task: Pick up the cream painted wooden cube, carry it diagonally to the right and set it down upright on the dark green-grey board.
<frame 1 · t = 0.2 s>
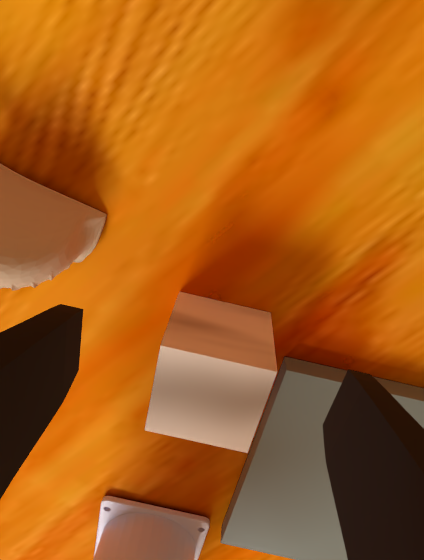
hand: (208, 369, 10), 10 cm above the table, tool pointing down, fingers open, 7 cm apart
decorative ornament: (25, 208, 19), on the table
target board: (367, 479, 25), on the table
cream cube: (215, 339, 22), on the table
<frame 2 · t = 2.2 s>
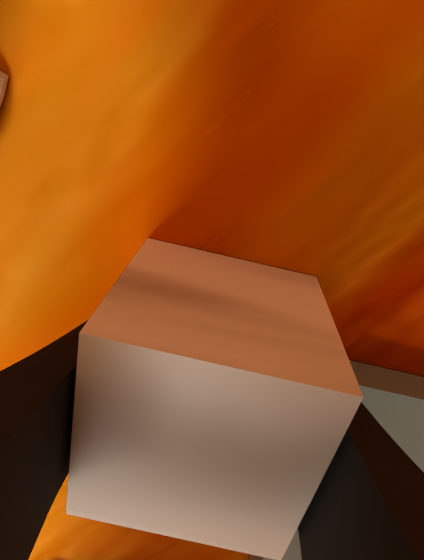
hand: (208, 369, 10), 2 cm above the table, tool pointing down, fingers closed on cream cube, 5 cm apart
cream cube: (214, 328, 12), on the table, touching gripper
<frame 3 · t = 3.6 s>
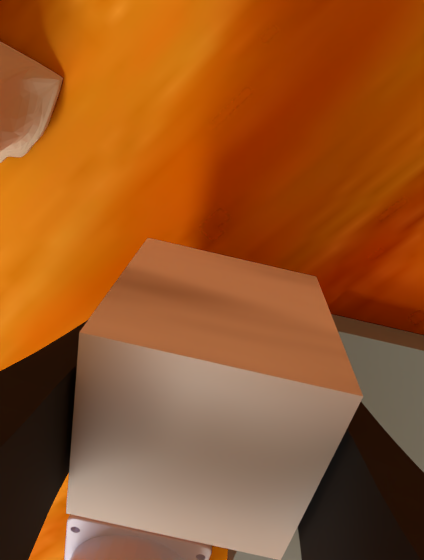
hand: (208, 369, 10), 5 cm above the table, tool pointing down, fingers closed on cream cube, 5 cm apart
cream cube: (214, 328, 12), point 3 cm above the table, touching gripper
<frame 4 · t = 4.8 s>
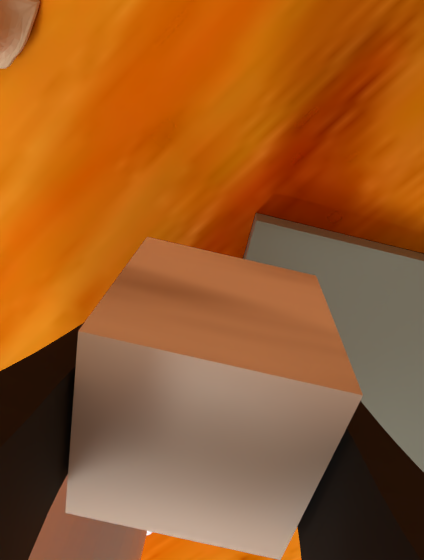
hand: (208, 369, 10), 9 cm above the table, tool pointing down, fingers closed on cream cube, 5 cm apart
target board: (358, 385, 21), on the table
cream cube: (213, 327, 12), point 7 cm above the table, touching gripper
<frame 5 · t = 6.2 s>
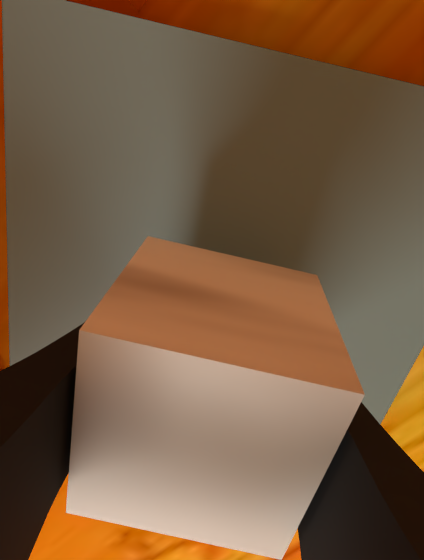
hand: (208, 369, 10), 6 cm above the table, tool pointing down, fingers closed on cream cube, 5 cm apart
target board: (220, 281, 15), on the table
cream cube: (214, 327, 12), point 4 cm above the table, touching gripper
when the fingers open (5 cm above the table, at t = 7.3 s): cream cube drops 1 cm, resting on target board.
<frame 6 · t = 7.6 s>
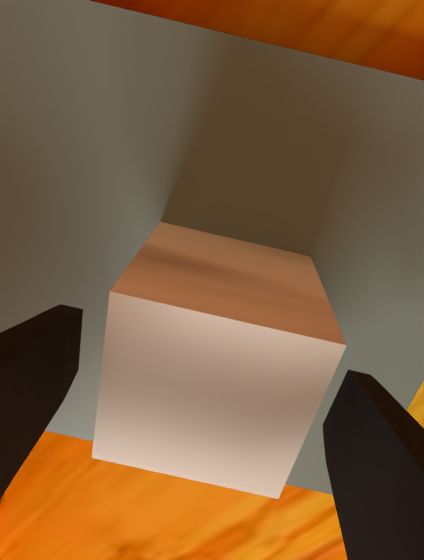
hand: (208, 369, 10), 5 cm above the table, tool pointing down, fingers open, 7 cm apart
target board: (219, 290, 15), on the table
cream cube: (218, 304, 13), point 1 cm above the table, touching target board
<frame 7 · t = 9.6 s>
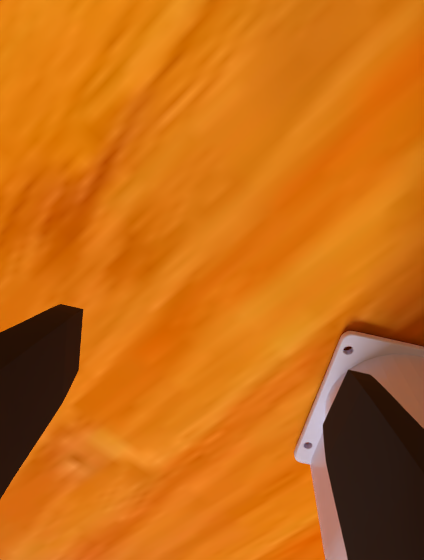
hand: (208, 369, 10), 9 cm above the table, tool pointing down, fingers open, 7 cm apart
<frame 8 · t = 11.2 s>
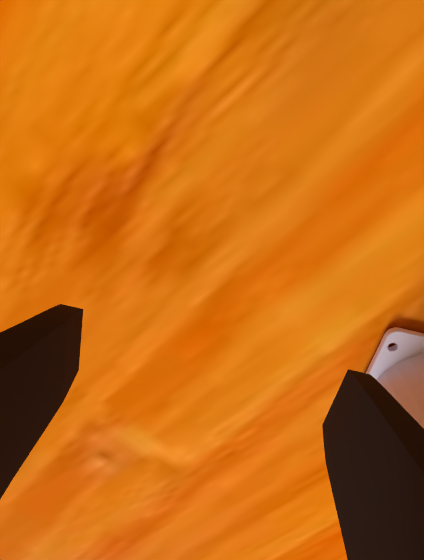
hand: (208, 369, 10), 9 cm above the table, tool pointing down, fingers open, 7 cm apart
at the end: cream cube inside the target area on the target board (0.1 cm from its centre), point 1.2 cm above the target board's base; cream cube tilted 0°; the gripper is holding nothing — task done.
